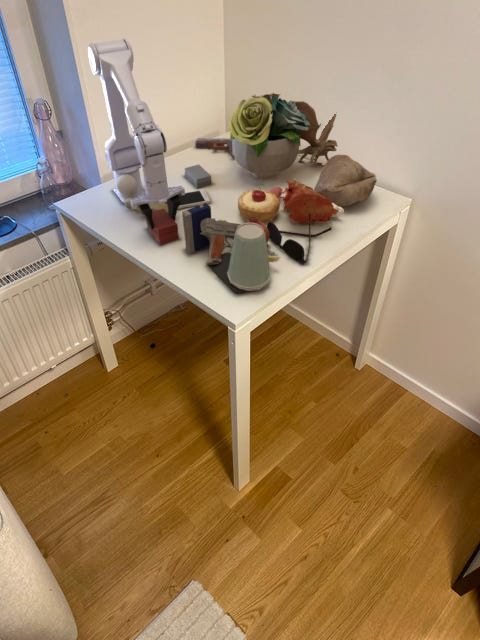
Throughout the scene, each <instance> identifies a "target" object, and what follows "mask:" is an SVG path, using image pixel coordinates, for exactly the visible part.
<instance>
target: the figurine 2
mask: <svg viewBox="0 0 480 640" xmlns="http://www.w3.org/2000/svg"><path fill="white" fill-rule="evenodd" d="M287 189H289V188H288V187H287ZM267 192H271V193H272V194H275V196H276V197H278V199H279V200H280V199H282V200H283V199H284V198H285V196H283V195H282V194H285V195H287V192H286V191H285V190H283V187H281V186H273V187H272V188H270V189H269V190H268V191H267ZM283 204H284V205H285V203H284V202H283ZM283 211H284V212H287V213H289V210H287V209H284V208H283Z"/></svg>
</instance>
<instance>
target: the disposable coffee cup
mask: <svg viewBox="0 0 480 640" xmlns="http://www.w3.org/2000/svg"><path fill="white" fill-rule="evenodd" d="M247 222H248V221H247ZM240 224H241V225H239V226H238V228H237V230H236V232H235V235H234V240H233V242H232V246H233V247H232V248H231V252H230V253H231V258H230V264H229V270H228V272H227V274H228V277H229V280H230V283H232V284H233V285H234V286H236V287H237V288H239V289H243V290H246V291H248V292H252V291H253V292H254V291H260V290H261V289H263V288H264V287H266V286H267V284H269V282H270V279H271V275H272V270H271V269H270V262H269V261H268V255H269V251H268V252H267V250H268V246H267V245H268V243H267V244H266V236H265V232H264V230H263V228H262V226H260V225H259V224H257V223H251V222H248V223H246V222H243V223H240Z"/></svg>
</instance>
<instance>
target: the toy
mask: <svg viewBox="0 0 480 640" xmlns="http://www.w3.org/2000/svg"><path fill="white" fill-rule="evenodd" d="M268 246H269V244H267V247H268ZM267 252H268V255H269V256H276V255H275V253H276V252H273V251H271V250H268V249H267Z"/></svg>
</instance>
